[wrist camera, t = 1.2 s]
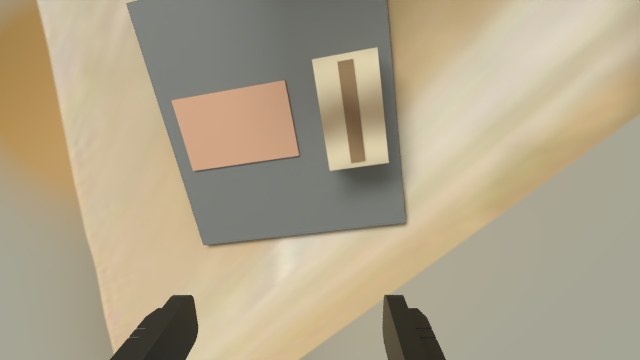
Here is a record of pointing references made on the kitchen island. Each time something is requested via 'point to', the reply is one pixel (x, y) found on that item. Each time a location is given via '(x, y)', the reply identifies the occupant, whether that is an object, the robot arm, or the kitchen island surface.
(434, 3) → the kitchen island surface
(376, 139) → the maple deck block
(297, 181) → the rubber mat
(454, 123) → the kitchen island surface
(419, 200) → the kitchen island surface
